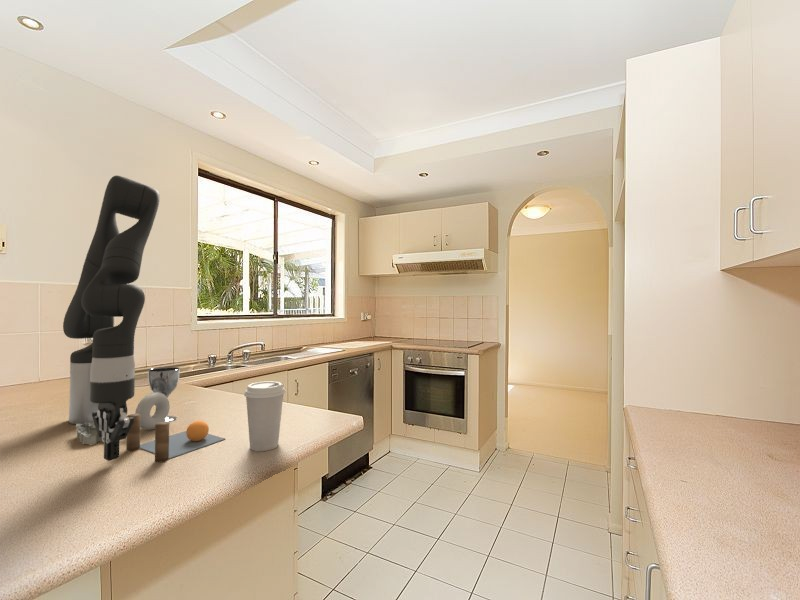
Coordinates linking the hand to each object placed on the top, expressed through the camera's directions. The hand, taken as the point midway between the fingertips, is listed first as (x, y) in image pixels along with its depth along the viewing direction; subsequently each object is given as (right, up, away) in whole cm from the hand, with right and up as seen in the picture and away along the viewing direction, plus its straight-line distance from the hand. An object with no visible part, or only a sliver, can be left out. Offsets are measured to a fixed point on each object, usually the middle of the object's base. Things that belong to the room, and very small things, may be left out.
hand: (111, 458), depth 79 cm
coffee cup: (+28, -2, +12) cm, 31 cm away
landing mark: (+7, -2, +13) cm, 15 cm away
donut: (-7, -2, +23) cm, 24 cm away
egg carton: (-16, -2, +16) cm, 23 cm away
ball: (+10, +1, +15) cm, 18 cm away
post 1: (-2, -2, +9) cm, 9 cm away
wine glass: (-9, -2, +31) cm, 33 cm away
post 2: (+9, -2, +3) cm, 9 cm away
